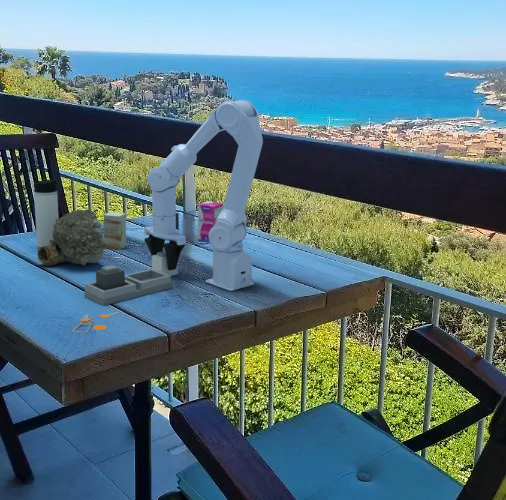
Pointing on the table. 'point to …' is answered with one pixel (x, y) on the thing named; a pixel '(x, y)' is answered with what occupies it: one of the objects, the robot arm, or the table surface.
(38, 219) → the travel mug
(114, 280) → the twin plug
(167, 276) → the socket strip
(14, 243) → the table surface
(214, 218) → the supplement box
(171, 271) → the grey plug
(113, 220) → the skincare box
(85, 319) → the key chain
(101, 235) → the grey brown rough lump
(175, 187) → the robot arm
